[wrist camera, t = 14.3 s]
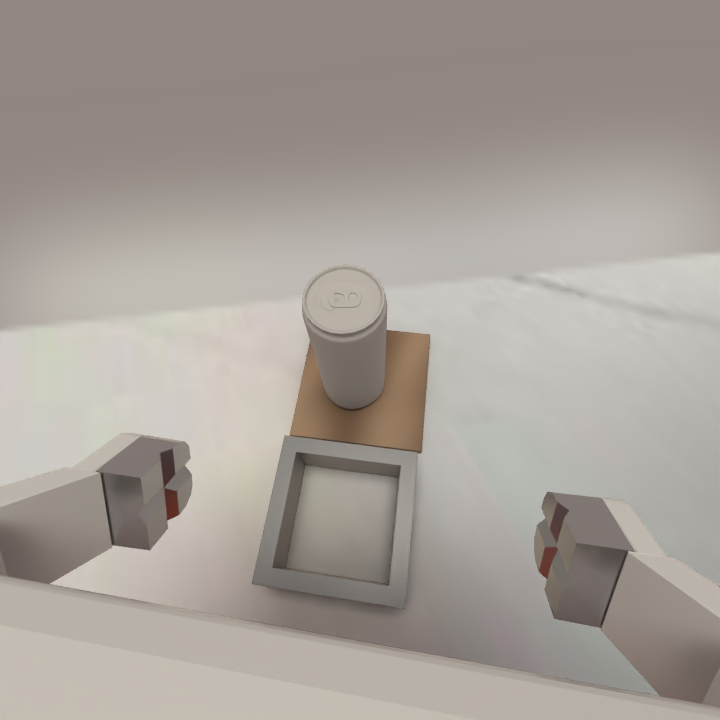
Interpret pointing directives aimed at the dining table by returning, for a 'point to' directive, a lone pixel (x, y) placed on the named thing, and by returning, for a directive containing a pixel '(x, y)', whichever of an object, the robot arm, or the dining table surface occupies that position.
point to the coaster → (381, 417)
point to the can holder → (285, 506)
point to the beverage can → (347, 333)
